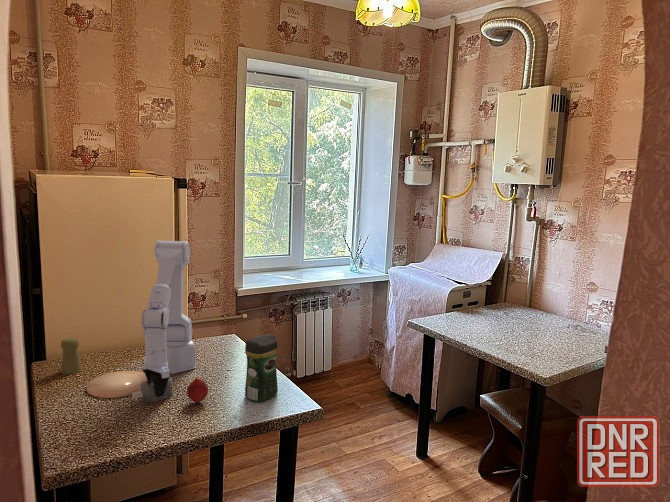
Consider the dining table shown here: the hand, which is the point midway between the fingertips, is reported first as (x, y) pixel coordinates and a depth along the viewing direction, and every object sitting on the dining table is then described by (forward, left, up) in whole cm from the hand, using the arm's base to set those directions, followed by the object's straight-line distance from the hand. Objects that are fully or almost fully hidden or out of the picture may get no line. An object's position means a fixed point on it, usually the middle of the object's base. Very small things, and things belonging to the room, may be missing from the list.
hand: (157, 393), depth 141 cm
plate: (+6, -15, -1) cm, 16 cm away
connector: (+1, 0, -1) cm, 2 cm away
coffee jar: (-25, +17, -2) cm, 30 cm away
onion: (-8, +10, -2) cm, 13 cm away
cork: (+15, -35, -2) cm, 38 cm away
